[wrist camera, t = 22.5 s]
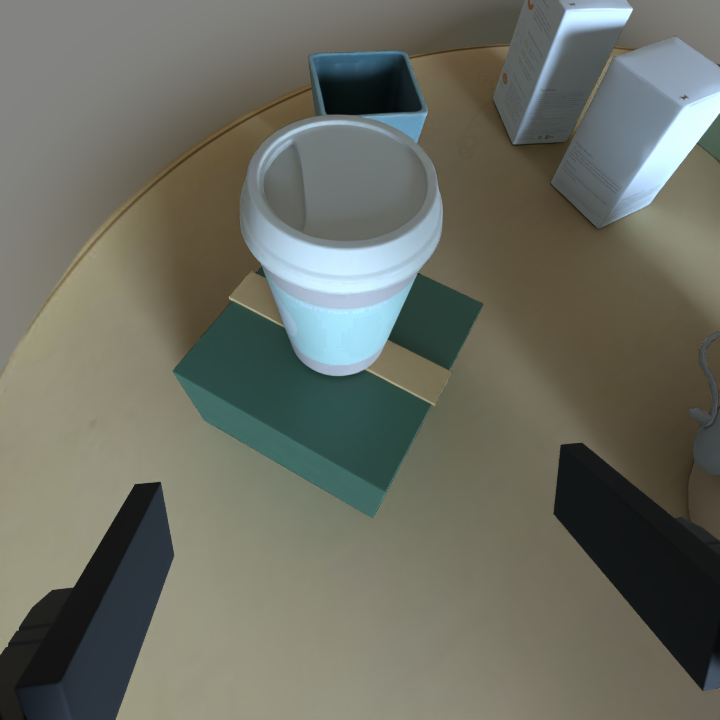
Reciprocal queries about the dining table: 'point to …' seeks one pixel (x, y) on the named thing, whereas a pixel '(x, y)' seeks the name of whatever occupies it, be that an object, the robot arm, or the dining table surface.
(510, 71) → the small box
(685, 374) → the dining table surface
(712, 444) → the alarm clock
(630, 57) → the white packaging box
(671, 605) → the robot arm
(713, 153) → the green gift bag
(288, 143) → the coffee cup
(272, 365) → the green parcel box
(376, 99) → the flower pot
